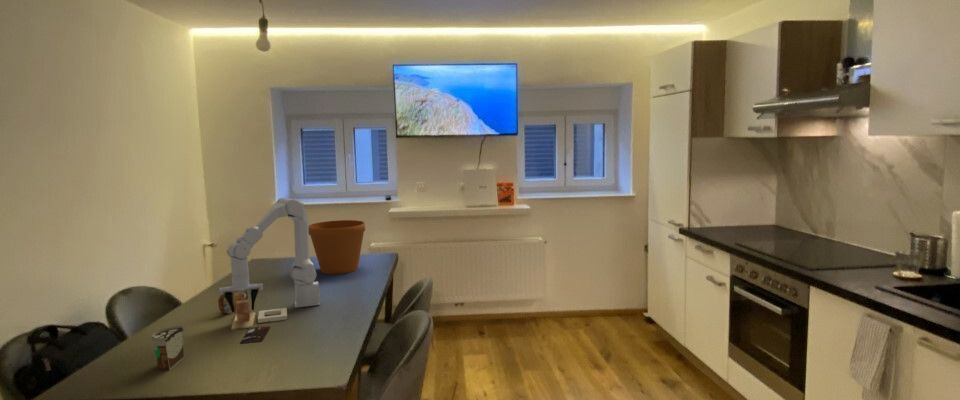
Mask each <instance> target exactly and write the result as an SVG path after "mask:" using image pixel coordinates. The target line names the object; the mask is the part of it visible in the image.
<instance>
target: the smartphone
mask: <svg viewBox="0 0 960 400" xmlns="http://www.w3.org/2000/svg"><path fill="white" fill-rule="evenodd" d="M269 328H270V329H271V326H269V325H267V326H256V327H255V326H253V327H250V328H248V329H247V330H246V333H245V334H244V336H243V337H242V339H241V341H240V342H239V344H240V345H242V344H243V345H244V344H254V343H262V342H263V341H264V339H265V338H266V337H267V334H268V333H269V330H270V329H269Z"/></svg>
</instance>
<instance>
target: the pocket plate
mask: <svg viewBox="0 0 960 400" xmlns="http://www.w3.org/2000/svg"><path fill="white" fill-rule="evenodd" d="M287 308H288V307H282V308H274V309H273V308H272V309H267V310H265V309H264V310H258V316H257V324H259V323H260V324H261V323H269V321H270V322H276V321H277V322H278V321H284V320H287V319H288V309H287ZM266 315H267V316H266Z"/></svg>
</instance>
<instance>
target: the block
mask: <svg viewBox="0 0 960 400" xmlns="http://www.w3.org/2000/svg"><path fill="white" fill-rule="evenodd" d="M236 309H237V311H236V315H237V322H245V321H250V313H251V311H250V300H249V299H248V300H241V301H237V303H236Z"/></svg>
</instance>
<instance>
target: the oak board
mask: <svg viewBox="0 0 960 400" xmlns="http://www.w3.org/2000/svg"><path fill="white" fill-rule="evenodd" d="M256 314H257V312H250V321H245V322H237V314H235V317H234V319H233V323H232V325H231V328H230V329H231V330H232V331H234V330H240V329H241V330H242V329H247V328H248V329H249V328H253V327H254V324H255V318H256Z"/></svg>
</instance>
